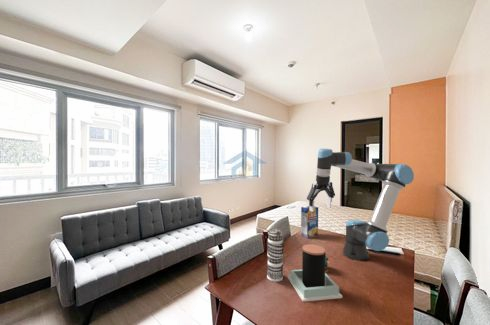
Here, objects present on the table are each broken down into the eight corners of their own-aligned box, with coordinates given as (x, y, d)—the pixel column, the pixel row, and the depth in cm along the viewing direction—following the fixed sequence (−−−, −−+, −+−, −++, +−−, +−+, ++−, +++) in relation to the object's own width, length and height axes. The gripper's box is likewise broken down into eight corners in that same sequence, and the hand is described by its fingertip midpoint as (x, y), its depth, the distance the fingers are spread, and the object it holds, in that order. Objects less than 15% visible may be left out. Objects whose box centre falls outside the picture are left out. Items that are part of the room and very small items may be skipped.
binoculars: (308, 247, 125) (325, 247, 123) (310, 265, 124) (327, 265, 122) (310, 254, 116) (328, 254, 114) (312, 273, 116) (330, 273, 114)
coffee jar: (328, 284, 102) (328, 248, 102) (319, 294, 94) (319, 255, 94) (307, 276, 109) (308, 242, 109) (298, 285, 101) (298, 248, 101)
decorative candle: (279, 284, 104) (280, 234, 104) (263, 278, 108) (263, 231, 108) (286, 275, 111) (286, 229, 111) (270, 270, 116) (271, 226, 116)
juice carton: (311, 233, 178) (311, 205, 178) (318, 236, 172) (318, 207, 172) (300, 235, 173) (301, 206, 173) (307, 238, 166) (307, 208, 166)
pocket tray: (320, 275, 112) (320, 266, 112) (342, 297, 94) (342, 288, 94) (287, 277, 109) (287, 269, 109) (302, 301, 91) (303, 291, 91)
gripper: (311, 179, 112) (308, 215, 116) (343, 174, 122) (340, 208, 126) (302, 175, 119) (299, 210, 123) (333, 171, 129) (330, 203, 133)
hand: (320, 209), depth 125 cm, fingers open, 13 cm apart
